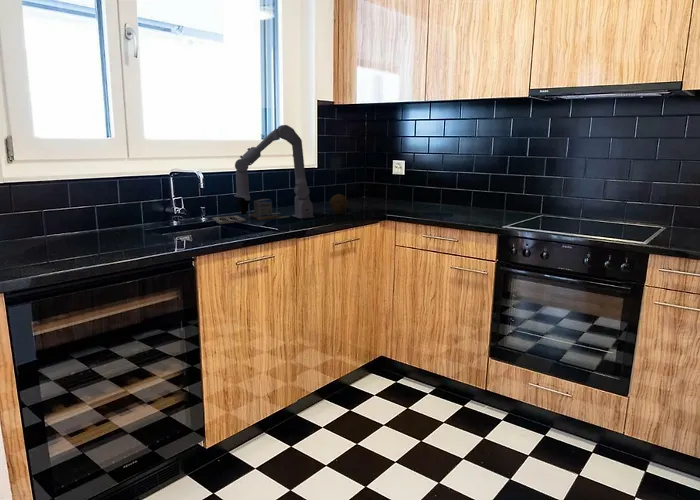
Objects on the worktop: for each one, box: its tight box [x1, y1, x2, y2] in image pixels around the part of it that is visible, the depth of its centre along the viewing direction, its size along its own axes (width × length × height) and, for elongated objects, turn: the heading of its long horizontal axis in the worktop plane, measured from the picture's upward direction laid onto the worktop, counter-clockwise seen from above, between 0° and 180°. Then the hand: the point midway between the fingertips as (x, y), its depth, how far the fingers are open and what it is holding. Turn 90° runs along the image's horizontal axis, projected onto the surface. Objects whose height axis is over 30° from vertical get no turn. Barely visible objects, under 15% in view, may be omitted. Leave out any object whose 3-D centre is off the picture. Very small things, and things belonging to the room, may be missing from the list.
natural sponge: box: [329, 193, 350, 215], centre depth 247 cm, size 9×9×10 cm
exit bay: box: [272, 212, 291, 219], centre depth 244 cm, size 13×6×1 cm, turn 31°
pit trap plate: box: [211, 215, 247, 225], centre depth 231 cm, size 13×12×1 cm
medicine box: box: [253, 198, 273, 219], centre depth 239 cm, size 8×4×9 cm, turn 143°
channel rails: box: [248, 213, 279, 221], centre depth 239 cm, size 13×10×1 cm
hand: (243, 214), depth 234 cm, fingers closed
